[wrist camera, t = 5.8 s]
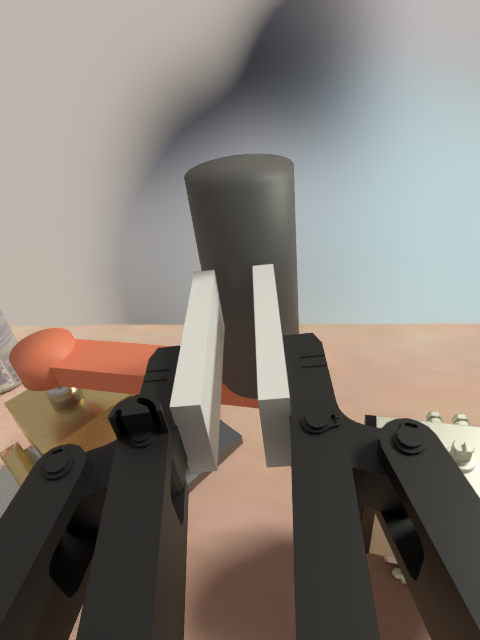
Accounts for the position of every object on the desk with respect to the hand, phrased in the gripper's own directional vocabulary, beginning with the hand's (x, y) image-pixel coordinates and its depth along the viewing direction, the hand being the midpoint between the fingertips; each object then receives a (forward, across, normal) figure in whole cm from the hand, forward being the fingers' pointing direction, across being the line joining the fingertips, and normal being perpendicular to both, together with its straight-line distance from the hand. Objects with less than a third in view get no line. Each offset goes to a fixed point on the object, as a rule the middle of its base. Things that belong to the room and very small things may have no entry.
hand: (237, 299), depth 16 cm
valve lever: (+4, -6, -7) cm, 10 cm away
